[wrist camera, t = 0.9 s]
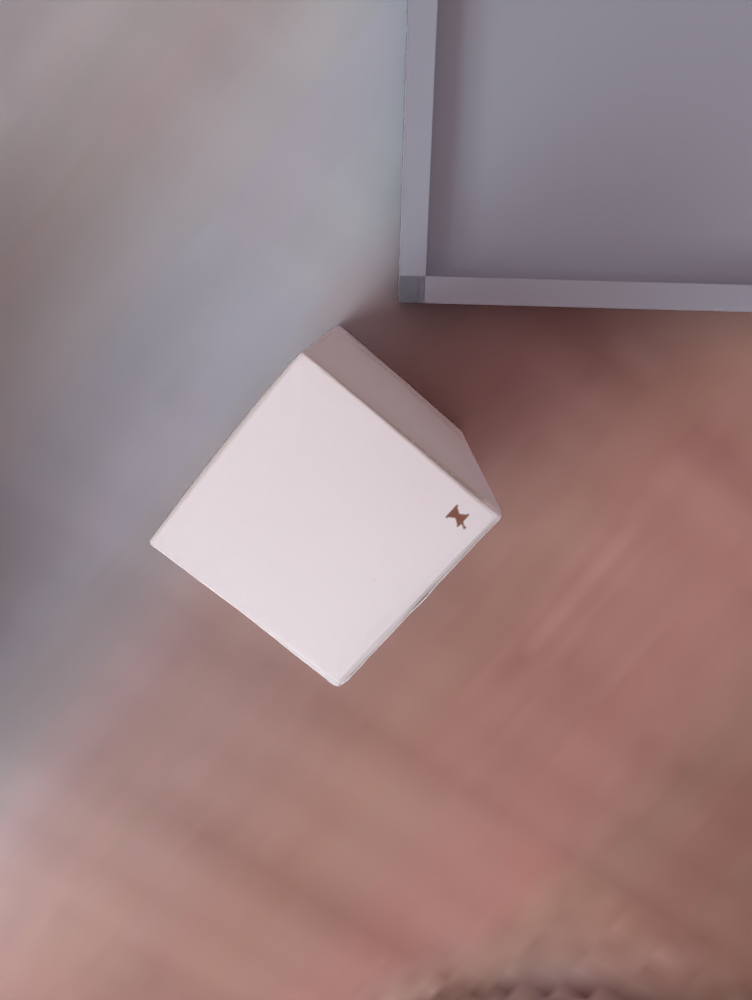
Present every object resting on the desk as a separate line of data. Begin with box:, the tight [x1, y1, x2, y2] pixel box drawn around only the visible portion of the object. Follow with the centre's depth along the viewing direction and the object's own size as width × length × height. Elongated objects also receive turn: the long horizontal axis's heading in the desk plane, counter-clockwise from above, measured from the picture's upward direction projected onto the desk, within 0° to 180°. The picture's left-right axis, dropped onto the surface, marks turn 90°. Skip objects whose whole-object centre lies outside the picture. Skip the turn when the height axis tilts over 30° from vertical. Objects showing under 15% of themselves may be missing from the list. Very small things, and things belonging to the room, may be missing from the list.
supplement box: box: [150, 326, 502, 686], centre depth 26 cm, size 7×7×13 cm
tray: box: [398, 0, 752, 312], centre depth 27 cm, size 22×18×2 cm
